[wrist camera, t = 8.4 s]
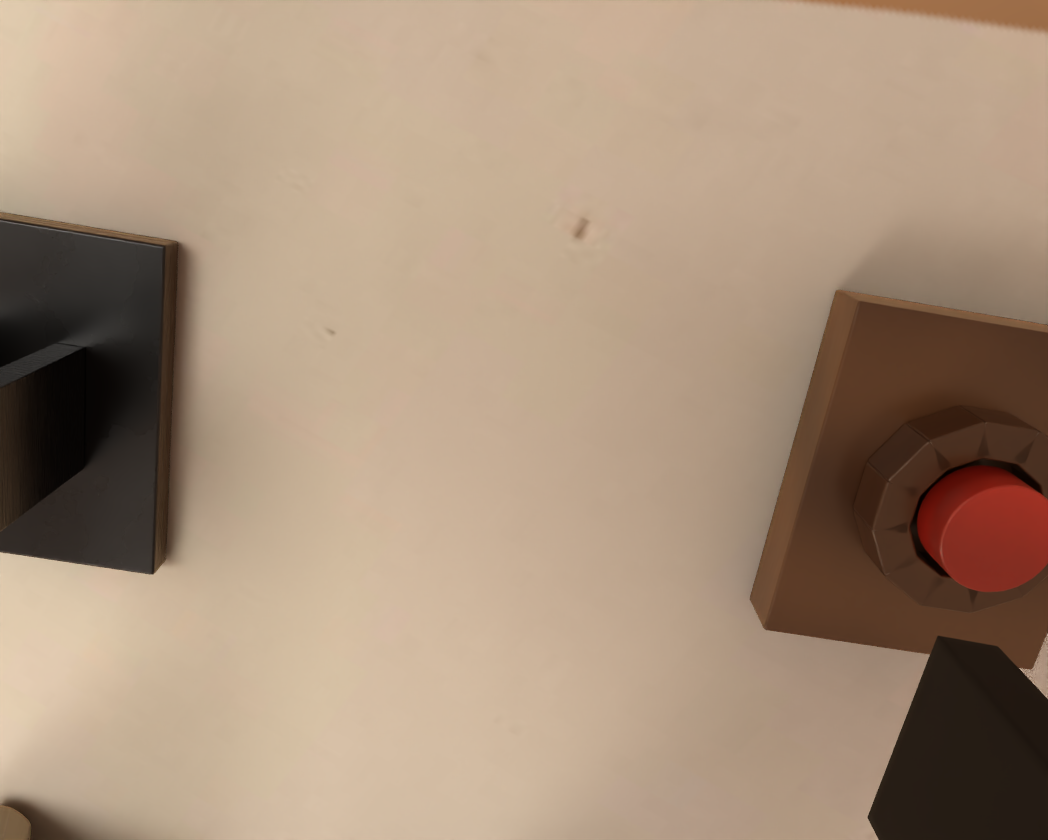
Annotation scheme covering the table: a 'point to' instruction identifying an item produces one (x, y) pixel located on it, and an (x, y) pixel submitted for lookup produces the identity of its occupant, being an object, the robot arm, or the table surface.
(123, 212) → the table surface
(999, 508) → the button
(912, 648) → the button block
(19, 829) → the digital clock
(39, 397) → the bracket
